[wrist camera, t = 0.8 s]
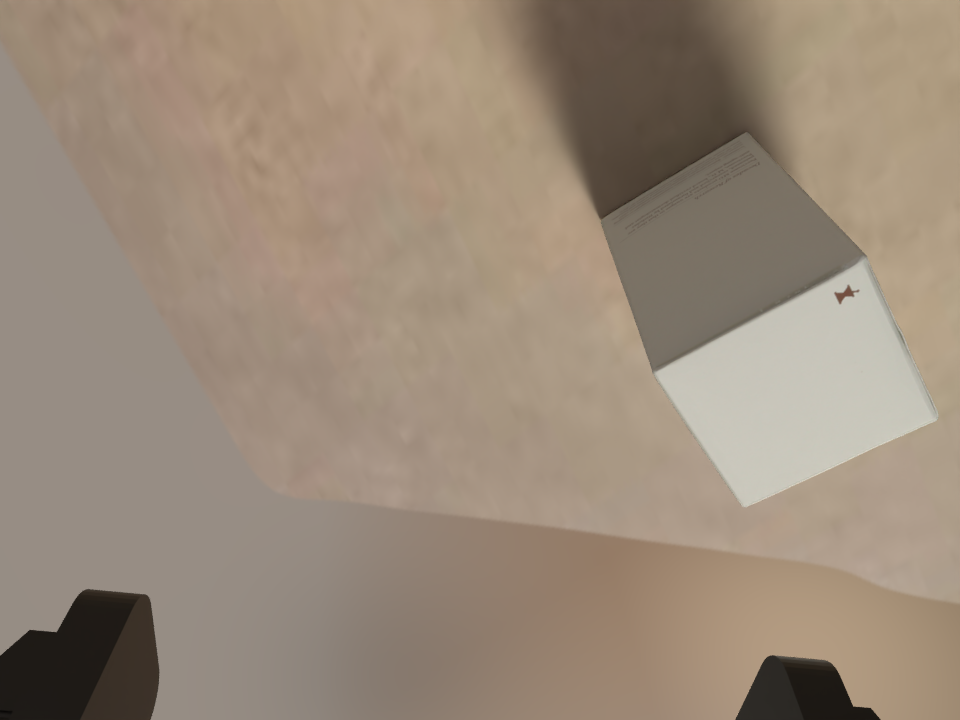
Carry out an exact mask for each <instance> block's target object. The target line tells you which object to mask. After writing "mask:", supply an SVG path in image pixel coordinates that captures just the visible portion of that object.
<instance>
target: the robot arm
mask: <svg viewBox="0 0 960 720" xmlns="http://www.w3.org/2000/svg"><path fill="white" fill-rule="evenodd" d="M158 684H159V664H158V656H157V648H156V640H155V632H154V625H153V616H152V608H151V602H150V599H149V597H148V596H147V595H145V594H134V593H123V592H112V591H102V590H101V591H100V590H90V589H87V590H84V591H82V592H81V593H80V594H79V595H78V596H77V598H76V599H75V601H74V602H73V604H72V606H71V608H70V609H69V611H68V613H67V615H66V617H65V618H64V620H63V622H62V624H61V626H60V627H59V629H58V631H57V632H47V631H36V630H29V631H28V632H27V633H26V634H25V635H24V636H22V637H21V638H20V639H19V640H18V641H17V642H15V643H14V644H13V645H12V646H11V647H10V648H9V649H7V650H6V651H5V652H4V653H3V654H2V655H1V656H0V720H150V719H151V716H152V713H153V710H154V706H155V701H156V697H157V692H158ZM736 720H880V719H879V717H878V716H877V715H876V714H875V713H874V711H873V710H872V709H871V708H864V707H853V705H852V703H851V700H850V698H849V696H848V694H847V691H846V689H845V686H844V684H843V682H842V679H841V677H840V675H839V673H838V671H837V670H836V668H835V667H834V666H833V665H832V664H831V663H830V662H828V661H825V660H817V659H806V658H795V657H784V656H773V655H772V656H769V657H767V658H766V659H765V660H764V662H763V663H762V665H761V667H760V670H759V672H758V674H757V676H756V678H755V680H754V682H753V684H752V686H751V689H750V690H749V693H748V695H747V697H746V699H745V701H744V703H743V705H742V707H741V709H740V711H739V713H738V715H737V717H736Z"/></svg>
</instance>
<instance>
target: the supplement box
mask: <svg viewBox="0 0 960 720" xmlns="http://www.w3.org/2000/svg"><path fill="white" fill-rule="evenodd" d="M601 224H602V228H603V231H604V234H605V237H606V240H607V242H608V245H609V248H610V251H611V254H612V256H613V259H614V262H615V265H616V268H617V271H618V274H619V277H620V280H621V282H622V285H623V288H624V291H625V293H626V296H627V299H628V302H629V305H630V307H631V310H632V313H633V316H634V319H635V322H636V325H637V327H638V330H639V333H640V336H641V339H642V342H643V345H644V348H645V351H646V354H647V356H648V359H649V362H650V365H651V369H652V372H653V374H654V376H655V378H656V380H657V381H658V383H659V385H660V386H661V388H662V389H663V391H664V393H665V394H666V396H667V397H668V399H669V400H670V402H671V403H672V405H673V406H674V408H675V409H676V411H677V412H678V414H679V415H680V417H681V418H682V420H683V421H684V423H685V424H686V426H687V428H688V429H689V431H690V432H691V434H692V435H693V436H694V438H695V439H696V441H697V442H698V444H699V445H700V447H701V448H702V450H703V451H704V452H705V454H706V455H707V457H708V458H709V460H710V461H711V463H712V464H713V466H714V467H715V469H716V470H717V472H718V473H719V475H720V476H721V478H722V479H723V481H724V482H725V484H726V485H727V486H728V488H729V489H730V491H731V492H732V493H733V495H734V496H735V498H736V499H737V500H738V502H739V503H740V504H741V506H742V507H748V506H750V505H752V504H754V503H756V502H759V501H761V500H763V499H765V498H768V497H770V496H772V495H774V494H776V493H779V492H781V491H783V490H785V489H787V488H790V487H792V486H794V485H796V484H798V483H800V482H802V481H805V480H807V479H809V478H811V477H813V476H816V475H818V474H820V473H822V472H824V471H826V470H829V469H831V468H833V467H835V466H837V465H839V464H842V463H844V462H846V461H848V460H850V459H852V458H854V457H856V456H858V455H860V454H862V453H865V452H867V451H869V450H871V449H873V448H875V447H877V446H880V445H882V444H884V443H887V442H889V441H891V440H894V439H896V438H898V437H901V436H903V435H905V434H907V433H910V432H912V431H914V430H916V429H919V428H921V427H923V426H925V425H928V424H930V423H932V422H935V421H936V420H938V411H937V409H936V407H935V405H934V402H933V400H932V398H931V396H930V394H929V392H928V390H927V387H926V385H925V383H924V381H923V379H922V377H921V374H920V372H919V370H918V368H917V366H916V363H915V361H914V359H913V357H912V355H911V352H910V350H909V348H908V345H907V343H906V340H905V338H904V335H903V333H902V331H901V329H900V328H899V326H898V324H897V323H896V320H895V318H894V316H893V314H892V312H891V309H890V307H889V305H888V303H887V301H886V299H885V296H884V294H883V292H882V290H881V287H880V285H879V283H878V281H877V279H876V276H875V274H874V272H873V270H872V267H871V265H870V263H869V260H868V258H867V256H866V255H865V254H864V253H863V252H862V250H861V249H860V248H859V247H858V246H857V245H856V244H855V243H854V242H853V241H852V240H851V239H850V238H849V237H848V236H847V235H846V234H845V233H844V232H843V231H842V230H841V229H840V228H839V226H838V225H837V224H836V223H835V222H834V221H833V220H832V219H831V218H830V217H829V216H828V215H827V214H826V213H825V212H824V211H823V210H822V209H821V208H820V207H819V206H818V205H817V204H816V203H815V202H814V201H813V200H812V199H811V198H810V197H809V195H808V194H807V193H806V192H805V191H804V190H803V189H802V188H801V187H800V186H799V185H798V184H797V183H796V182H795V181H794V180H793V179H792V178H791V177H790V176H789V175H788V174H787V173H786V172H785V171H784V169H783V168H782V167H781V166H780V165H779V164H778V163H777V162H776V161H775V160H774V159H773V158H772V157H771V156H770V155H769V154H768V153H767V152H766V151H765V150H764V149H763V148H762V147H761V146H760V145H759V144H758V143H757V142H756V140H755V139H754V138H753V137H752V136H751V135H750V134H749V133H748V132H746V133H744V134H742V135H740V136H738V137H737V138H735V139H733V140H732V141H730V142H728V143H727V144H725V145H723V146H721V147H720V148H718V149H716V150H715V151H713V152H711V153H710V154H708V155H707V156H705V157H703V158H701V159H700V160H698V161H697V162H695V163H693V164H691V165H689V166H688V167H686V168H685V169H683V170H681V171H680V172H678V173H676V174H675V175H673V176H671V177H670V178H668V179H666V180H664V181H663V182H661V183H660V184H658V185H656V186H655V187H653V188H651V189H650V190H648V191H646V192H645V193H643V194H641V195H640V196H638V197H636V198H635V199H633V200H632V201H630V202H628V203H627V204H625V205H623V206H621V207H620V208H618V209H616V210H615V211H613V212H612V213H610V214H609V215H607V216H606V217H604V218H603V219H602V220H601Z"/></svg>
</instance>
